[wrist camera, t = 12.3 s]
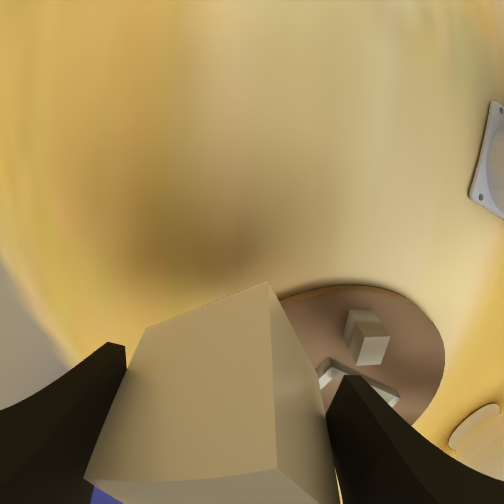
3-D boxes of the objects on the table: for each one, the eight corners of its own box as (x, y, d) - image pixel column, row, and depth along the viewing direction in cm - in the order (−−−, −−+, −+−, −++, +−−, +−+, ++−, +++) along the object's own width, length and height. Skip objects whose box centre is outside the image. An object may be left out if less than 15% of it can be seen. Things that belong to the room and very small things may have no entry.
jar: (504, 415, 28) (548, 483, 14) (447, 458, 30) (482, 533, 16) (501, 383, 25) (561, 465, 11) (433, 435, 27) (478, 530, 13)
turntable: (310, 225, 18) (329, 251, 14) (470, 349, 22) (495, 378, 18) (161, 416, 23) (151, 455, 19) (330, 472, 27) (337, 503, 23)
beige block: (267, 280, 10) (277, 468, 4) (317, 375, 12) (343, 520, 6) (97, 345, 12) (32, 470, 6) (163, 416, 13) (136, 531, 7)
